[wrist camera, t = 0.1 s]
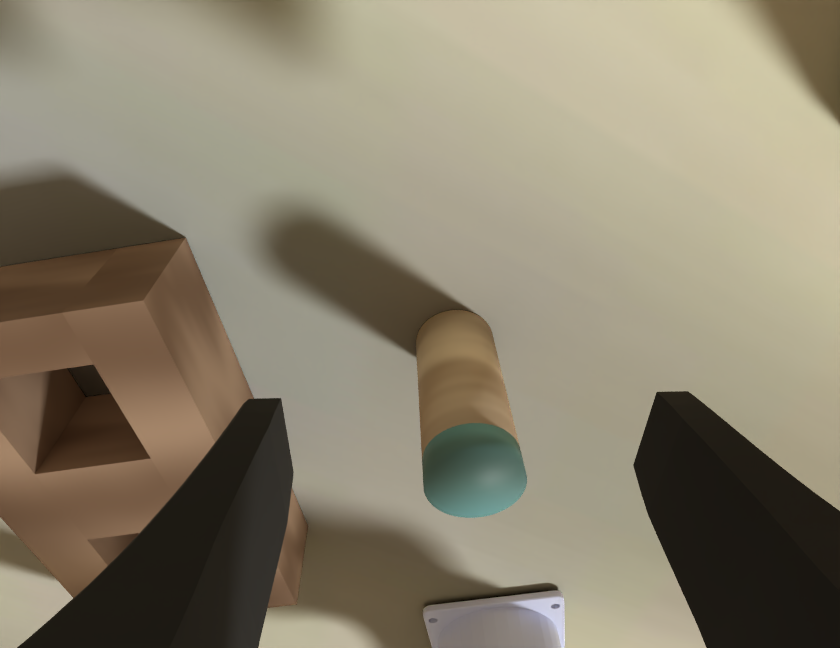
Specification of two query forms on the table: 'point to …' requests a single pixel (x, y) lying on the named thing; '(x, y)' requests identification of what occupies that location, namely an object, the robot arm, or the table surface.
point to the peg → (465, 419)
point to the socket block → (113, 403)
